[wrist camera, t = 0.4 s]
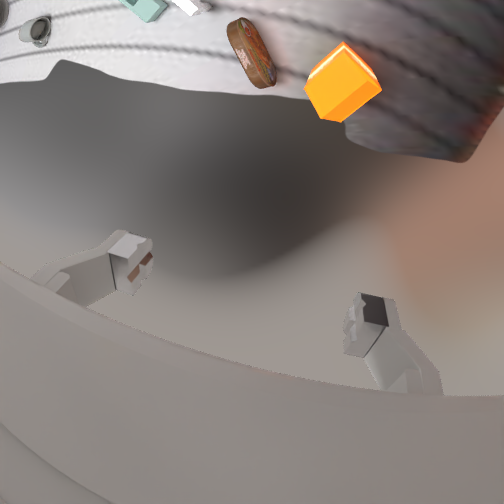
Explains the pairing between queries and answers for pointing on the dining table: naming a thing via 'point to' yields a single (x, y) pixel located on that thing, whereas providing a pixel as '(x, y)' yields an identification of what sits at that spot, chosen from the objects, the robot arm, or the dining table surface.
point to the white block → (193, 6)
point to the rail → (145, 8)
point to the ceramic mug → (35, 31)
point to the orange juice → (341, 84)
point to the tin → (251, 53)
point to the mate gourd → (3, 11)
